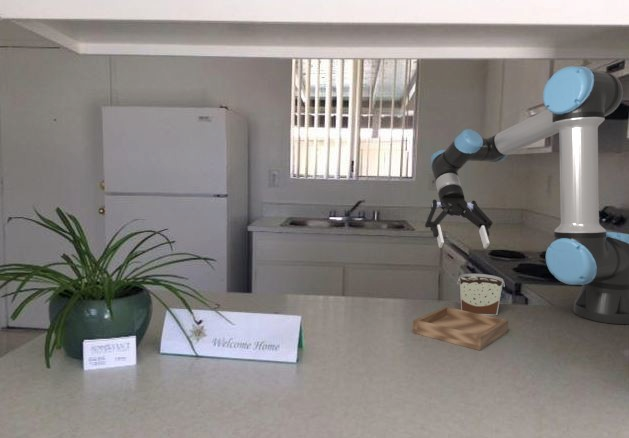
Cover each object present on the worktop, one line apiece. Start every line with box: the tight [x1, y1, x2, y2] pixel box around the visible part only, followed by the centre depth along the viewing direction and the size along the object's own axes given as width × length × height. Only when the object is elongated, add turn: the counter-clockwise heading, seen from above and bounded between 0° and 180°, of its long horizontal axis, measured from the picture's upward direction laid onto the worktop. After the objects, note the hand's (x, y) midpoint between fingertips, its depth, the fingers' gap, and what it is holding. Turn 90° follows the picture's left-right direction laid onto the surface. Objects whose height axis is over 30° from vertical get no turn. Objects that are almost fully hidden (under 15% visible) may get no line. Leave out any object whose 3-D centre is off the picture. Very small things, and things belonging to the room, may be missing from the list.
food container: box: [456, 273, 506, 316], centre depth 137 cm, size 12×6×10 cm, turn 84°
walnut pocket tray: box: [412, 306, 509, 351], centre depth 119 cm, size 16×16×3 cm
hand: (464, 245), depth 146 cm, fingers open, 13 cm apart
